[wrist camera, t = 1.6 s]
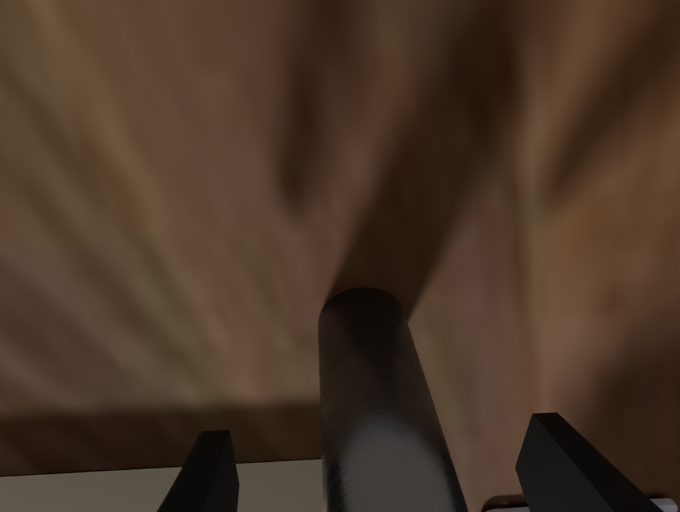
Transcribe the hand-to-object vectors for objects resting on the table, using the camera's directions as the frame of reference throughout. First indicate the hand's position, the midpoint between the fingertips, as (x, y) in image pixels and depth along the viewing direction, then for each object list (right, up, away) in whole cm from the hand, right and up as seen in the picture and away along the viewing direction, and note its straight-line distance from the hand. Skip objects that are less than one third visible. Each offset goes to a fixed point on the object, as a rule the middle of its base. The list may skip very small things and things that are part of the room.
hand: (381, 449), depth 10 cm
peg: (0, +2, +4) cm, 5 cm away
